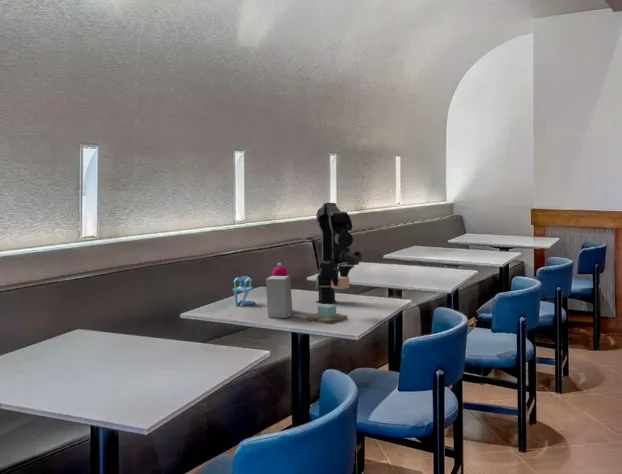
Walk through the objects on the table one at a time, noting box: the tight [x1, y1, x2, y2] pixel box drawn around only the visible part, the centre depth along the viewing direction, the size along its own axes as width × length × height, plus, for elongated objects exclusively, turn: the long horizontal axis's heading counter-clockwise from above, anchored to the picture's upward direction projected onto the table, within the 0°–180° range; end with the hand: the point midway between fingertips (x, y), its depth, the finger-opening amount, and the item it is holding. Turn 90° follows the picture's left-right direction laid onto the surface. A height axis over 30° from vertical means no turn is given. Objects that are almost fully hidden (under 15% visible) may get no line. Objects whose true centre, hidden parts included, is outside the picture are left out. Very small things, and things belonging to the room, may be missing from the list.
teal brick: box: [317, 303, 337, 318], centre depth 230 cm, size 5×5×4 cm
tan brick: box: [331, 275, 350, 290], centre depth 233 cm, size 5×5×4 cm
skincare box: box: [265, 275, 293, 319], centre depth 235 cm, size 8×7×16 cm
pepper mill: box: [271, 262, 288, 276], centre depth 244 cm, size 7×7×20 cm
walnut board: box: [306, 312, 348, 325], centre depth 231 cm, size 11×11×1 cm
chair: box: [232, 275, 256, 307], centre depth 259 cm, size 8×8×12 cm
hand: (339, 285), depth 233 cm, fingers closed on tan brick, 5 cm apart
